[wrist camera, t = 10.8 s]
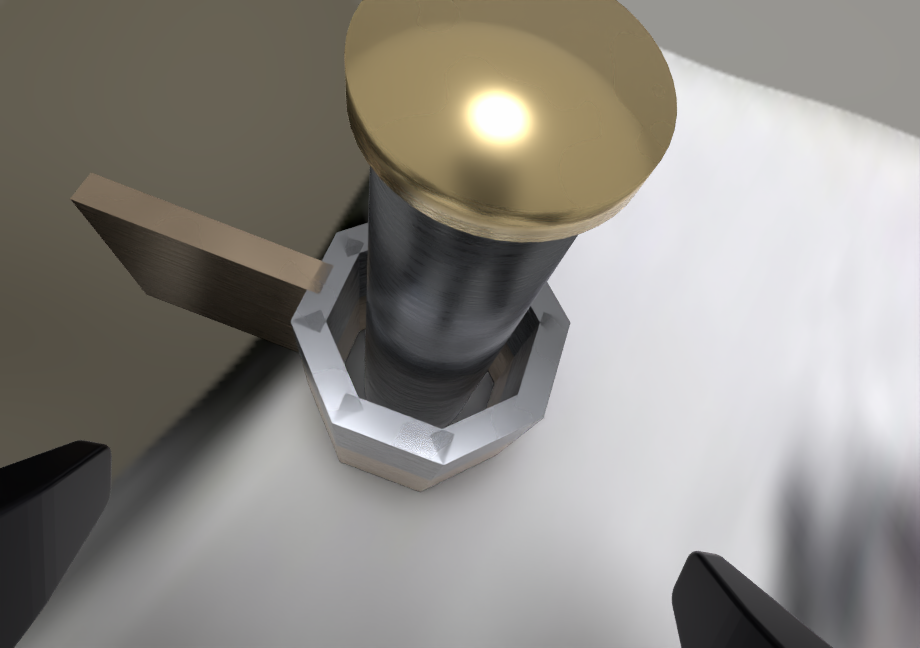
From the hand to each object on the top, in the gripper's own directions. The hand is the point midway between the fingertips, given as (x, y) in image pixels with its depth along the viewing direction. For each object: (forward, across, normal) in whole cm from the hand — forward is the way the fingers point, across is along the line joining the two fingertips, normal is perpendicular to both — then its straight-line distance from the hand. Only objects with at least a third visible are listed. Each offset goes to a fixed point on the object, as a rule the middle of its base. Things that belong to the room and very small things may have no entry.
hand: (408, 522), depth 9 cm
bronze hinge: (+11, +2, 0) cm, 11 cm away
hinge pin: (+9, 0, +2) cm, 9 cm away
